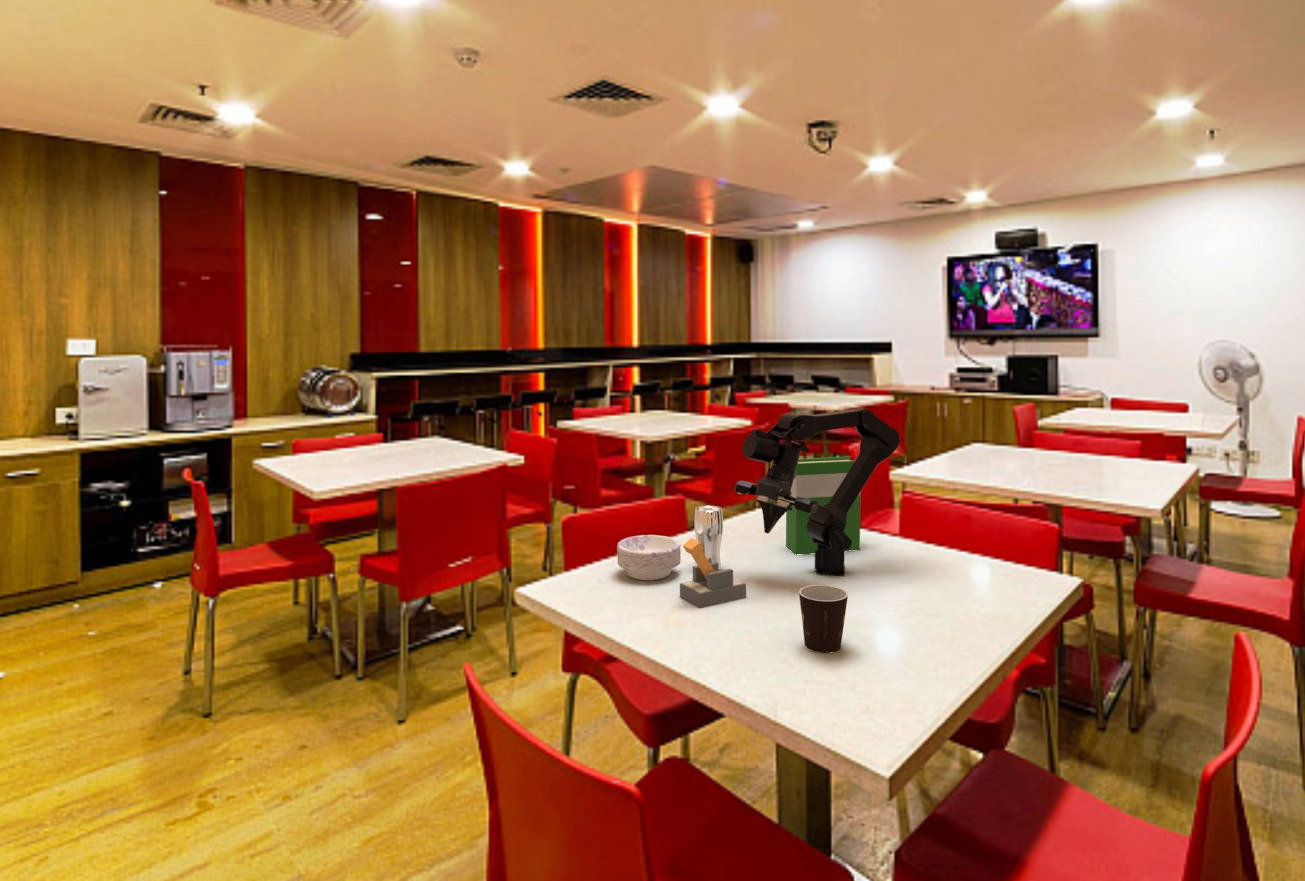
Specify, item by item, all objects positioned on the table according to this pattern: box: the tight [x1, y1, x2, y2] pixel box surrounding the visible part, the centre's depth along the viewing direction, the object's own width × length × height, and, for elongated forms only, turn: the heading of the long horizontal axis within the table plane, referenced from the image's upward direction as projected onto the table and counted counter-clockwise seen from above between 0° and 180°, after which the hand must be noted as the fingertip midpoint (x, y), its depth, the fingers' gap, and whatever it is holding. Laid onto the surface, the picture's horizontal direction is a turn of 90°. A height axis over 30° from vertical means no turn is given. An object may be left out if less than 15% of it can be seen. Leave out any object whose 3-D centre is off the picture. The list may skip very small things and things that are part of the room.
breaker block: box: [679, 562, 747, 609], centre depth 158 cm, size 12×8×6 cm, turn 119°
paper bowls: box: [616, 534, 682, 581], centre depth 175 cm, size 15×15×8 cm
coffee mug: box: [798, 584, 849, 654], centre depth 130 cm, size 12×9×10 cm
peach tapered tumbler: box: [694, 505, 724, 571], centre depth 178 cm, size 7×7×15 cm
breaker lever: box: [682, 537, 715, 580], centre depth 156 cm, size 3×4×11 cm
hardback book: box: [785, 456, 862, 556], centre depth 192 cm, size 18×7×24 cm, turn 99°
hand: (766, 533), depth 167 cm, fingers closed
